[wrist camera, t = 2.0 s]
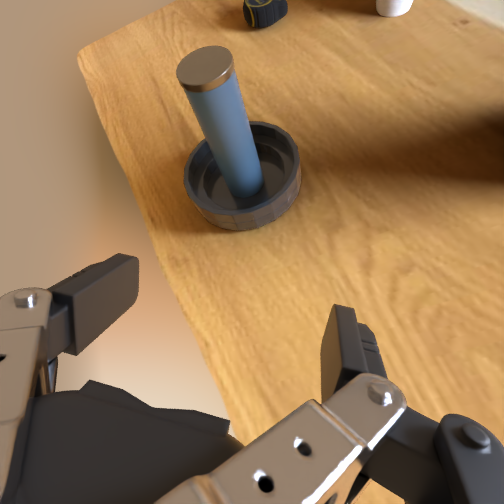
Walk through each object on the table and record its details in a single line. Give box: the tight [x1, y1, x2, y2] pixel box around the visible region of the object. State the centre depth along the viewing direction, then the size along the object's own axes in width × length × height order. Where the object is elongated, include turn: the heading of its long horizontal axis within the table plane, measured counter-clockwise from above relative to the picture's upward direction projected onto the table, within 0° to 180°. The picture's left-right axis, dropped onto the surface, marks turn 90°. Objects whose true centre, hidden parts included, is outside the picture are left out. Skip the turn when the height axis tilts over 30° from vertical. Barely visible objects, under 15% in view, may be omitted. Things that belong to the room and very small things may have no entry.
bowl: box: [184, 121, 302, 231], centre depth 39 cm, size 14×14×4 cm
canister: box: [176, 46, 264, 198], centre depth 33 cm, size 5×5×16 cm
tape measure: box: [243, 0, 288, 28], centre depth 54 cm, size 7×7×4 cm
